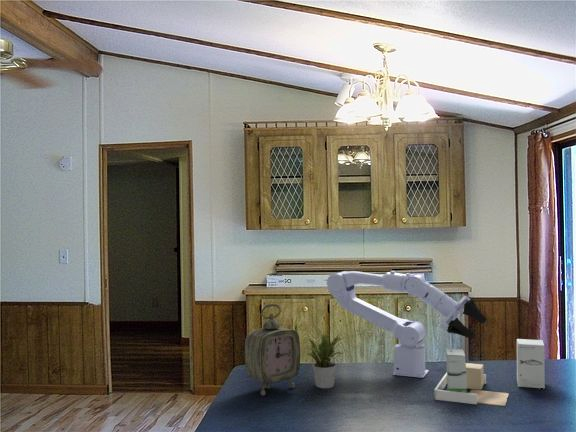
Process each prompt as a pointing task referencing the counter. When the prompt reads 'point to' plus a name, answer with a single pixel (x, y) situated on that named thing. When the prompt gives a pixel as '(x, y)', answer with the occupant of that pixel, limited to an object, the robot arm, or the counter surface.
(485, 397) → the cork mat
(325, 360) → the house plant
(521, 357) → the supplement box
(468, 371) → the kraft carton
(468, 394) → the tray
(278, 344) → the tabletop clock
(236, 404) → the counter surface
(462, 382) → the ink box
